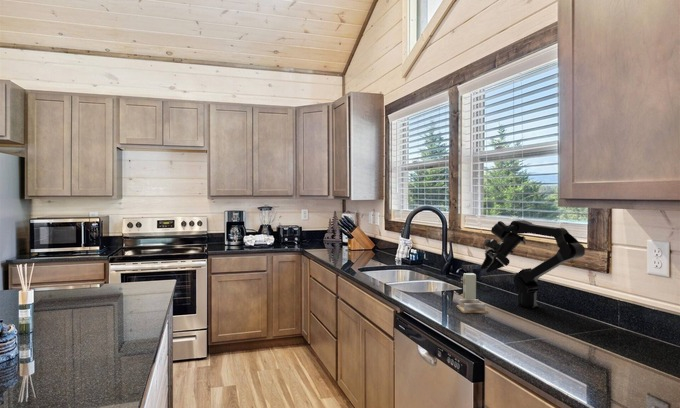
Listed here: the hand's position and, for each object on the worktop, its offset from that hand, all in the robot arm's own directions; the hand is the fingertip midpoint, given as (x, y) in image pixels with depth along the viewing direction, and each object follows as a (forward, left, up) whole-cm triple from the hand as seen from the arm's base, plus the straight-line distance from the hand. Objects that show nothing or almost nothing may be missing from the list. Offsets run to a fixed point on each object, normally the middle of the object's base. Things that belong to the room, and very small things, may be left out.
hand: (483, 270), depth 192 cm
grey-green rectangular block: (+4, +6, -14) cm, 15 cm away
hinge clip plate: (-3, +17, -14) cm, 22 cm away
